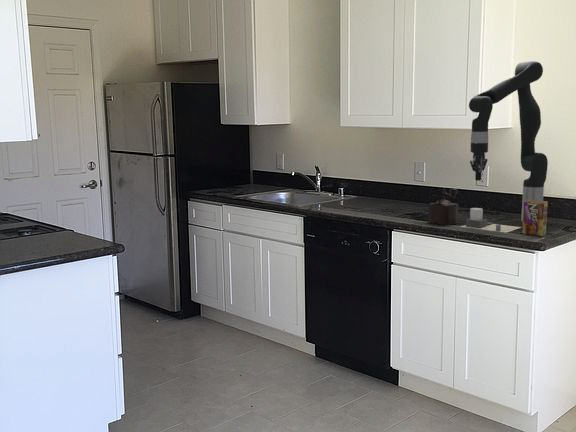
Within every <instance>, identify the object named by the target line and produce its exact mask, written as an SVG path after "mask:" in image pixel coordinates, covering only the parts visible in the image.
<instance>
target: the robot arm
mask: <svg viewBox="0 0 576 432" xmlns="http://www.w3.org/2000/svg"><path fill="white" fill-rule="evenodd" d="M543 72H544V68H543V65H542V64H541V62H539V61H536V60H534V61H522V62H519V63H517V65H516V66H515V68H514V76H512V77H510V78H508V79H504V80H502V81H501V82H499V83H497V84H495V85H493V86H492V87H491V88H489V89H488V90H486V91H483V92H481V93H478V94H477V95H475V96H473V97H472V98H471V99H470V101H469V103H468V109H469V110H470V111H471V112H472V113H478V115H477V117H475V118H473V119H472V120H471V121H472V122H471V135H470V152H471V153H472V154H473V155H472V160H470V161H469V164H470V166H471V169H472V171H473V172H475V181H481V180H482V173H483V171H484V170H485V168H486V166H487V163H488V160H489V159H488V158H486V154H487V153H488V152H489V120H490V118H491V116H492V111H493V107H494V106H493V105H494V104H497V103H499V102H501V101H503V99H506V98H507V97H508V96H509V95H511V94H513V93H514V92H516V91H517V98H518V109H519V110H518V111H519V113H518V115H519V125H520V144H521V145H520V165H521V168H522V170H524V171H525V172H530V174H529V175H530V176H529V177H528V178H527V179H524V180H523V182H522V199H521V200H522V201H521V205H522V206H521V219H520V220H521V222H522V223H523V211H524V201H525V200H536V201H544V195H545V194H544V193H545V192H544V191H545V190H544V188H545V187H544V186H545V183H546V181H547V174H548V164H549V163H548V157H547V156H546V154H545V153H543V152H536V148H535V146H536V145H535V143H536V142H535V141H536V138H537V135H538V133H539V130H540V129H541V124H542V118H541V117H542V115H541V108H540V106H539V103H538V102H537V101H536V99H535V97H534V96H533V94H532V93H533V92H532V90H531V84H533V83H534V82H536V81H538V80H540V79H541V77H542V75H543Z"/></svg>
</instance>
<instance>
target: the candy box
mask: <svg viewBox="0 0 576 432" xmlns="http://www.w3.org/2000/svg"><path fill="white" fill-rule="evenodd" d="M548 203H549V202H548V201H545V200H543V201H536V200H525V201H524V211H523V222H522V234H525V235H526V234H527V235H532V236H539V237H540V236H541V237H540V238H541V239H542V238H545V237H546V236H547V219H548V206H549V205H548Z"/></svg>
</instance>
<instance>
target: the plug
mask: <svg viewBox="0 0 576 432" xmlns="http://www.w3.org/2000/svg"><path fill="white" fill-rule="evenodd" d="M483 213H484V209H483V208H481V207H480V208H479V207H471V208H469V217H470V218H469V219H470V220H475V221H481V220H482V219H484V218H483V216H484V215H483Z"/></svg>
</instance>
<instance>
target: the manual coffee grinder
mask: <svg viewBox="0 0 576 432" xmlns="http://www.w3.org/2000/svg"><path fill="white" fill-rule="evenodd" d="M446 190H447V189H446V188H443V189H442V199H438V200H437V201H436V202H430V203H428V213H427V214H428V219H427V223H428V224H433V225H440V226H449V225H456V224H458V223H459V206H460V205H459V203H454V202H453V203H452V202H451V201H450V200H448V199H446V196H448V197H449V198H451V199H456V195H457V194H458V193H459V191H458V189H457V188H456V187H451V188H450V189H449V193H447V191H446Z"/></svg>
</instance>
